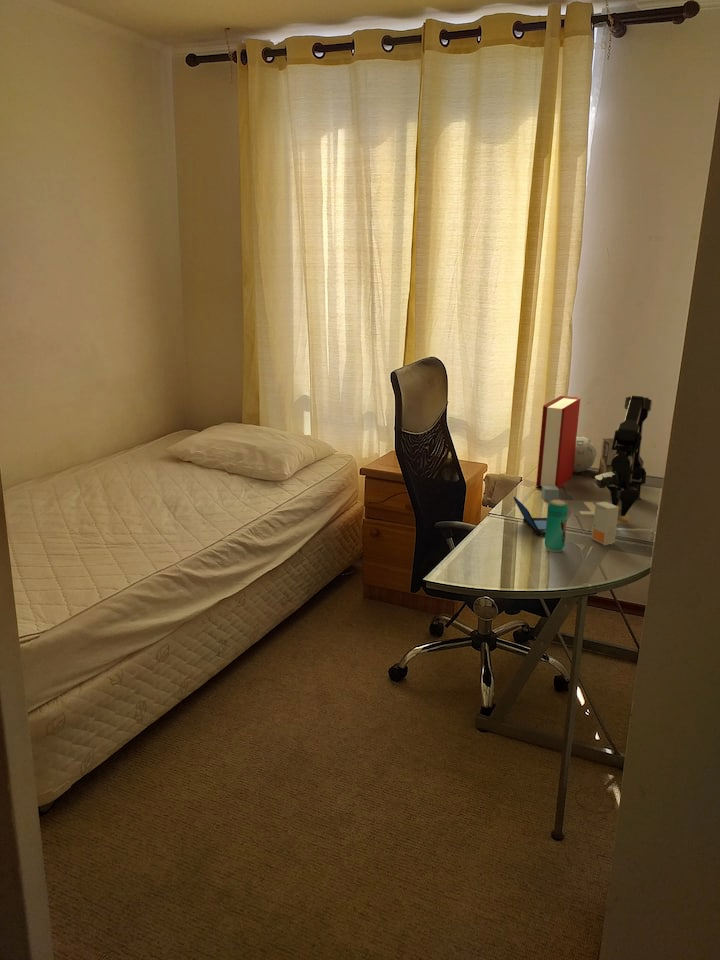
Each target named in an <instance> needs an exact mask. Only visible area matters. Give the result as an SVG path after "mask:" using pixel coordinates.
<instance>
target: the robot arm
mask: <svg viewBox="0 0 720 960" xmlns="http://www.w3.org/2000/svg"><path fill="white" fill-rule="evenodd" d="M652 406H653V401H652V399H650V398H649V397H644V396H643V395H642V396H641V395H629V396H627V397H625V400H624V409H625V410H626V414H625V417H624V420H623V422H621V423H619V424H618V427H617V429H615V431H614V436H613V438H614V440H613V445H612V450H617V451H616V455H615V456H614V458H613V459H612V462H611V466H612V468H611V472H607V473H603V474H600V475H599V474H598V475H595V476H594V479H595V484H596V486H597V487H598V488H599V489H605V488H607V489H608V490H609V495H610V501H611V502H612V504H613V505H618V504H619V501H620V505H621V516H625V515H626V513H627V512H628V510H630V509H631V508H632V506H633V505H634V503H635V502H636V501H641V500H642V498H641V487H642V485H645V484H646V481H647V471H646V467H644V464H645V463H644V460H643V459H642V457H641V446H642V440H643V430H644V427H643V426H644V422H645V420H646V419H648V416H649V412H651V410H652ZM616 441H617V443H616ZM615 444H617V445H616V446H615Z"/></svg>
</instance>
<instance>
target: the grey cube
mask: <svg viewBox="0 0 720 960" xmlns="http://www.w3.org/2000/svg"><path fill="white" fill-rule="evenodd" d="M559 494H560V488H559V489H558V488H557V486H542V487H541V497H540V498H541V499H542V500H543V501H544V502H549V501H550V500H554V499H558V500H559V498H560V497H559Z"/></svg>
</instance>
